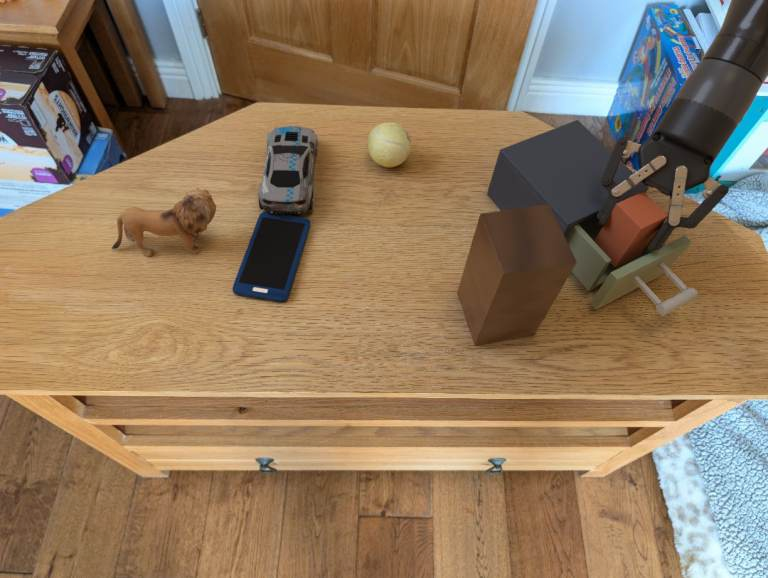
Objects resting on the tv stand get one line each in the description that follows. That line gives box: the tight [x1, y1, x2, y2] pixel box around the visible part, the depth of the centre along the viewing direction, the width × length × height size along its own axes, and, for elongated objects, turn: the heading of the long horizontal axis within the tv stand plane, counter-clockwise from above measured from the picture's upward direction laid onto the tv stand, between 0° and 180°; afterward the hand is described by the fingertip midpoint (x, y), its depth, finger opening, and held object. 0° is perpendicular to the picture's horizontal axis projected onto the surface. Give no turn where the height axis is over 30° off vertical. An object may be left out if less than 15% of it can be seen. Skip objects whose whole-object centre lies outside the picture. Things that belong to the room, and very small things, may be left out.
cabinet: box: [486, 119, 650, 238], centre depth 78 cm, size 15×14×9 cm
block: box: [594, 192, 668, 267], centre depth 70 cm, size 4×4×8 cm
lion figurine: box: [111, 187, 217, 258], centre depth 72 cm, size 15×5×9 cm, turn 103°
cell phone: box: [231, 211, 312, 303], centre depth 75 cm, size 7×14×1 cm, turn 171°
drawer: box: [566, 215, 699, 317], centre depth 73 cm, size 19×12×7 cm, turn 29°
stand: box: [456, 204, 577, 346], centre depth 65 cm, size 8×8×16 cm
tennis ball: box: [365, 121, 412, 168], centre depth 83 cm, size 6×7×7 cm
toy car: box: [258, 125, 319, 215], centre depth 81 cm, size 8×17×5 cm, turn 1°
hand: (624, 237), depth 69 cm, fingers closed on block, 5 cm apart
